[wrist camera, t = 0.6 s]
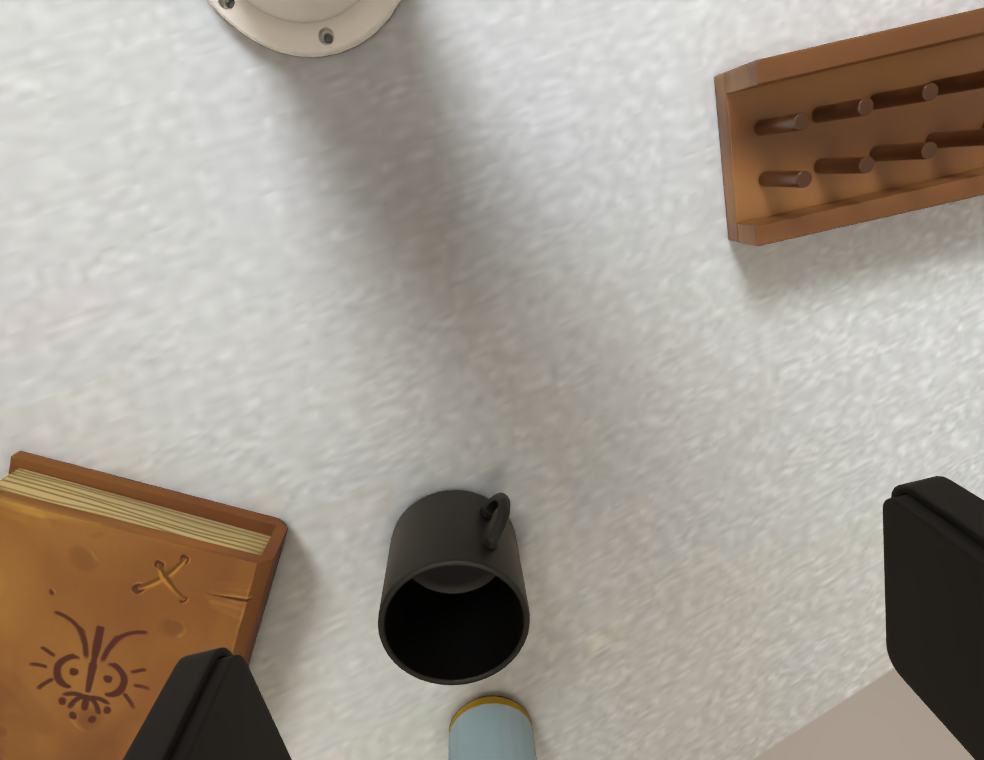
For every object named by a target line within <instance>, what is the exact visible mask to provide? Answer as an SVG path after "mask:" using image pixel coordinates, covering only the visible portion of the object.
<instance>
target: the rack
mask: <svg viewBox="0 0 984 760" xmlns="http://www.w3.org/2000/svg"><path fill="white" fill-rule="evenodd" d="M714 79H715V90H716V101H717V113H718V124H719V135H720V146H721V157H722V168H723V180H724V191H725V202H726V213H727V224H728V236H729V240H733V241H737V242H740V243H745V244H749V245H753V246H761V245H765V244H770V243H774V242H778V241H783V240H787V239H792V238H796V237H800V236H805V235H809V234H814V233H818V232H822V231H827V230H831V229H836V228H840V227H844V226H849V225H853V224H857V223H862V222H866V221H871V220H875V219H879V218H884V217H888V216H893V215H897V214H901V213H906V212H910V211H915V210H919V209H923V208H928V207H932V206H937V205H941V204H945V203H950V202H954V201H959V200H963V199H967V198H972V197H976V196H981V195H984V8H981V9H976V10H972V11H968V12H963V13H959V14H954V15H950V16H946V17H941V18H937V19H933V20H928V21H924V22H920V23H915V24H911V25H907V26H902V27H898V28H894V29H889V30H885V31H881V32H876V33H872V34H868V35H863V36H859V37H855V38H850V39H846V40H842V41H837V42H833V43H829V44H824V45H820V46H816V47H811V48H807V49H803V50H798V51H794V52H790V53H785V54H781V55H777V56H772V57H768V58H764V59H759V60H756V61H753V62H750V63H748V64H745V65H743V66H740V67H737V68H735V69H732V70H730V71H727V72H724V73H722V74H719V75H717V76H715V77H714Z"/></svg>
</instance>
